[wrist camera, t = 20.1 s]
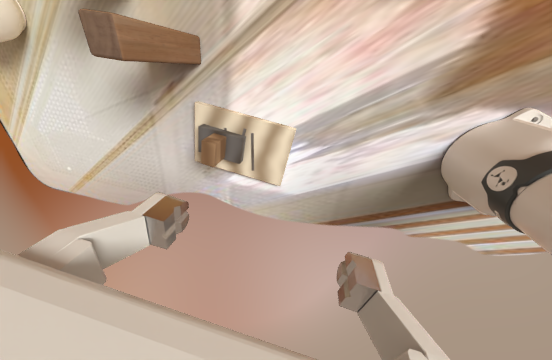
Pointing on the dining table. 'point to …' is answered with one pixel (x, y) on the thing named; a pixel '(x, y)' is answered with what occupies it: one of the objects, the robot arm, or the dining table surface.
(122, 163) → the dining table surface
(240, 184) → the dining table surface
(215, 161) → the block
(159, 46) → the wooden block
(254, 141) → the birch board
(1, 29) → the lidded bowl
